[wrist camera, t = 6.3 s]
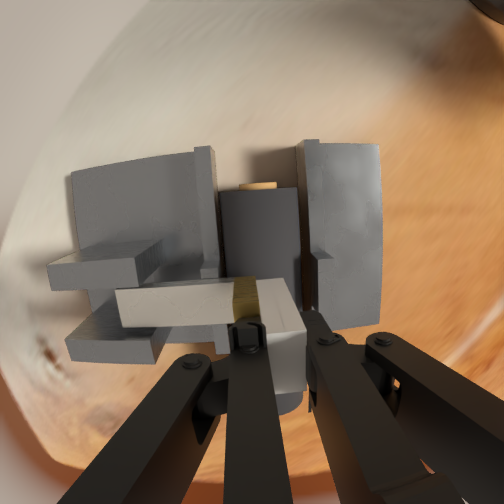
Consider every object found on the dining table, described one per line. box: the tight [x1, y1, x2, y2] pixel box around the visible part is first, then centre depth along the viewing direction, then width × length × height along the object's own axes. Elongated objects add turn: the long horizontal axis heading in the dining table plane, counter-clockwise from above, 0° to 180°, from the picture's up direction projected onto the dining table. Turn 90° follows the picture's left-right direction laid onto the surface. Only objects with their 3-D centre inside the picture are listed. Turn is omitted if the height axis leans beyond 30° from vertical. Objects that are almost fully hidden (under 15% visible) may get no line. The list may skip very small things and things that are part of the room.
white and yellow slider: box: [115, 276, 260, 327], centre depth 16 cm, size 2×8×4 cm, turn 94°
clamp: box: [46, 139, 383, 364], centre depth 19 cm, size 14×23×7 cm, turn 94°
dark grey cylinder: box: [219, 182, 303, 415], centre depth 21 cm, size 17×5×5 cm, turn 4°
